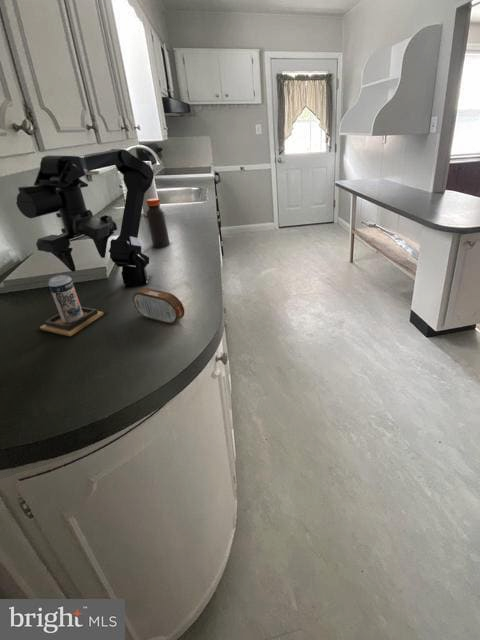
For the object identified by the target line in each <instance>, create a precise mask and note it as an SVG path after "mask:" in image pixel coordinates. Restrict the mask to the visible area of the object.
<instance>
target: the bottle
mask: <svg viewBox="0 0 480 640" xmlns="http://www.w3.org/2000/svg"><path fill="white" fill-rule="evenodd" d="M146 206H147V207H148V209H147V211H146V217H147V223H148V227H149V232H150V237H151V242H152V246H153V247H154V248H165V247H168V246H169V245H170V238H169V237H170V236H169V232H168V226H167V222H166V216H165V211H164V209H163V208H161V201H160V198H157V197H156V198H153V197H152V198H148V199H146Z"/></svg>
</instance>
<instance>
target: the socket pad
mask: <svg viewBox="0 0 480 640" xmlns="http://www.w3.org/2000/svg"><path fill="white" fill-rule="evenodd" d="M81 309H82V312H83V316H82V317H81V318H80V319H79V320H77V321H75V322H71V323H65V322H62V320H61V317H60V314H59V313H57V314H56V315H53V316H52V317H50V318H48V319H46V320H44V324H42V325H41V326H40V327H39V330H40V331H44V332H49V333H53V334H56V335H57V334H58V335H62V336H67V337H72V336H73V335H75V334H76V333H78V332H79V331H81V330H83V329H84V328H85V327H87V326H89V325H90V324H92V323H93V322H95V321H96V320H98V319H99V318H101V317H102V316H104V315H105V314H104V311H100V310H97V308H91V307H86V306H81Z"/></svg>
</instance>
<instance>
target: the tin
mask: <svg viewBox="0 0 480 640" xmlns="http://www.w3.org/2000/svg"><path fill="white" fill-rule="evenodd" d="M132 301H133V304H134V308H135V309H136V311H137V312H138V313H139V314H140V315H142V316H143V317H145V318H147V319H150V320H154V321H158V322H161V323H165V324H168V325H174V324H176V323H177V322H179V321H180V320H181V319H182V318H183V317H184V316H185V307H184V304H183V303H182V301H181V300H180V299H179V298H178V297H177V296H176V295H175V294H173V293H171V292H168V291H164V290H159V289H156V288H155V289H154V288H152V287H145V286H143V287H141V288H140V289H139V290H137V291H136V292H135V293H134V294H133V296H132Z"/></svg>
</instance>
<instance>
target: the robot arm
mask: <svg viewBox="0 0 480 640" xmlns="http://www.w3.org/2000/svg"><path fill="white" fill-rule="evenodd" d="M113 166H115V168H116V170H117V172H119V173H120V174H122V175H123V177H122V178H123V179H122V180H123V183H124V186H125V188H126V196H125V201H124V208H123V214H122V220H121V225H120V230H119V231H120V232H119V235H118V236H117V238H116V239H115V238H112V239H111V240H110V241H109V238H110V237H111V236H112V235H114V234H115V231H118V226H117V223H116V222H115V220H113V217H112V216H111V215H109V214H104V215H102V216H98V217H95V216H94V214H93V212H92V210H91V209H87V206H86V202H85V199H84V195H83V191H82V188H87V187H89V184H88V183H87V182H85V181H83V180H82V179H81V178H82V177H85V176H86V175H87V174H88V173H90V172H92V171H95V170H99V169H103V168H108V167H113ZM39 167H40V168H39V170H38V172H37V175H36V178H35V180H34V183H33V185H30V186H25V185H24V186H19V187H18V189H17V190H18V192H19V193H18V194H17V195H16V202H15V203H16V207H17V209H18V210H19V212H20V213H21V214H22V215H23V216H24V217H26V218H28V219H35V218H39V217H43V216H46V215H50V214H54V213H56V215H55V216H56V217H57V218H61V221H62V224H63V227H62V228H60V230H61V233H62V234H63V235H60V234H49V235H46V236H42V237H40V238H38V239H37V240H36V243H35V245H36V248H37V250H38V251H40V252H45V253H49V254H50V253H51V255H53V256H54V257H56V258H57V259H58V260H59V261H61V262H62V263H63V264H64V265H65V267H67V268H68V269H69V270H70V272H76V271H77V269H76V265H75V262H74V259H73V256H72V251H73V247H70V246H71V242H73V241H76V240H79V239H81V238H84V237H88V238H90V239H91V240H92V241H93V244H94V246H95V248H96V251H97V252H98V253H97V254H98V255H99V256H100V258H101V259H105V258H106V255H107V254H106V253H107V247H108V241H109V242H110V244H109V245H110V246H109V249H108V253H109V258H110V259H111V261H112V262H113V263H114V264H115V265H116V267H119V268H120V267H121V272H120V274H121V278H122V282H123V284H124V288H126V289H128V288H134V287H140V286H147V284H148V282H149V277H150V276H149V275H148V272H147V266H149V264H150V257H149V256H148V255H146V254H145V253H142V245H141V242H140V239H139V231H140V224H141V219H142V212H143V205H144V200H145V194H146V192H147V191H148V190H149V189H150V188H151V186H152V184H153V181H154V177H155V172H154V170H153V168H152V167H151V165H149V164H148V163H146V162H145V161H144V160H142V159H141V158H140V157H139V158H138V157H137V156H135V155H133V154H132V153H131V152H129V151H128V150H127V149H125V148H112V149H110V150H104V151H99V152H93V153H87V154H81V155H50V154H49V155H45V156H43V157H41V161H40V163H39Z"/></svg>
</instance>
